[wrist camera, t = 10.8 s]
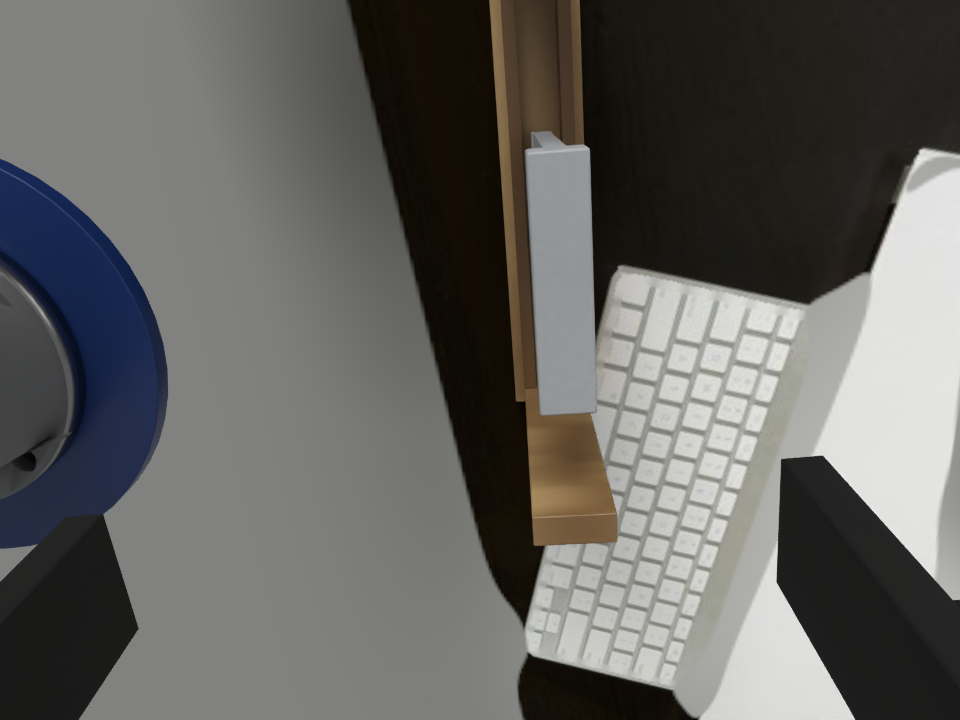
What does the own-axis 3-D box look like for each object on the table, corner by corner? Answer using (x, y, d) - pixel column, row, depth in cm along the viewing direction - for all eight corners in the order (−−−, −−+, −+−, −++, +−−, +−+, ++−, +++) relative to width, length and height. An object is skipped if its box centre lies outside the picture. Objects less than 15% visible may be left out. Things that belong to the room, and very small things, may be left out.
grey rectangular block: (530, 317, 38) (540, 416, 26) (519, 132, 35) (525, 152, 23) (569, 314, 38) (597, 413, 26) (562, 129, 35) (590, 147, 23)
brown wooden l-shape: (515, 391, 41) (520, 547, 27) (485, -69, 34) (468, -186, 20) (589, 387, 41) (631, 541, 27) (574, -77, 34) (622, -203, 19)
